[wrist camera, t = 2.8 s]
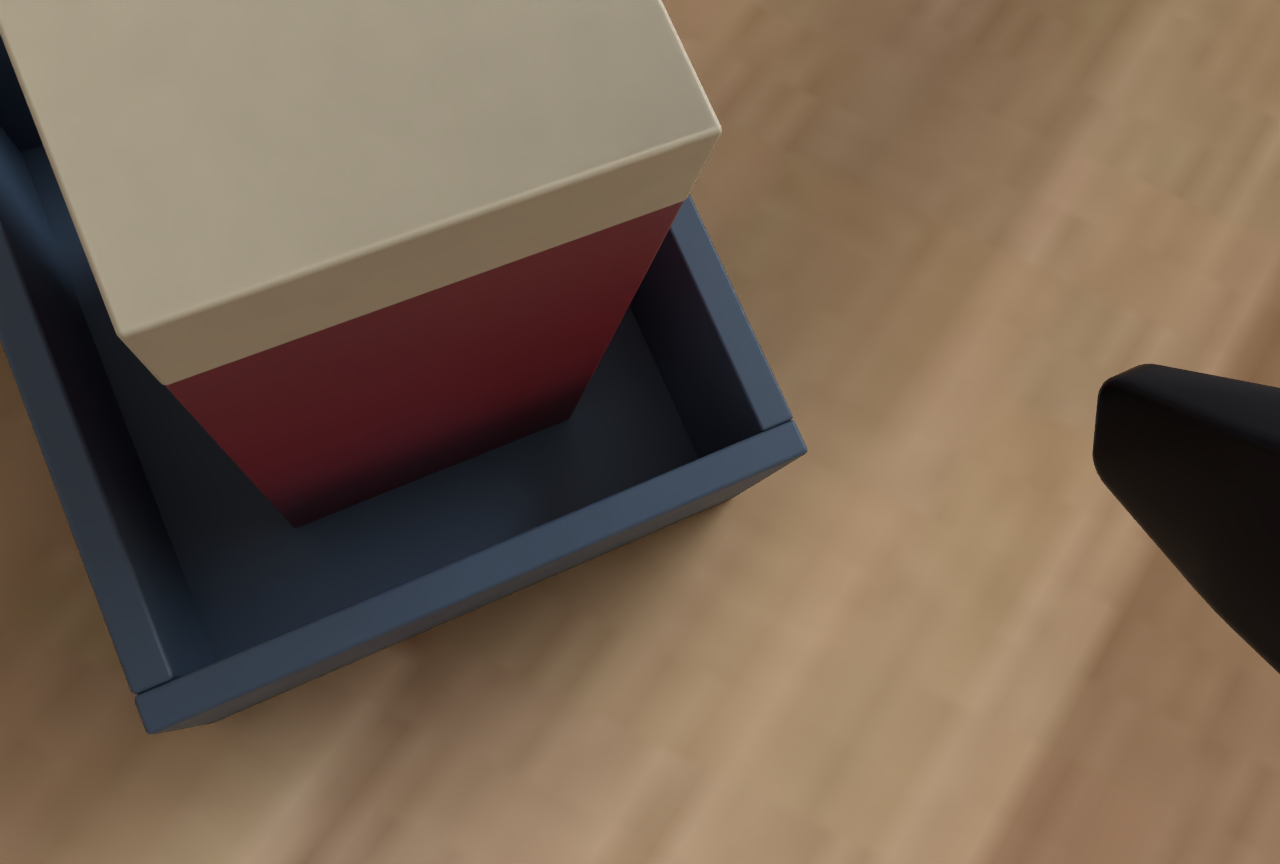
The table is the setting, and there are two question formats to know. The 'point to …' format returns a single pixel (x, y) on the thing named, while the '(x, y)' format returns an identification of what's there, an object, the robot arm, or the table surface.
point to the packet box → (378, 527)
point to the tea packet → (364, 211)
